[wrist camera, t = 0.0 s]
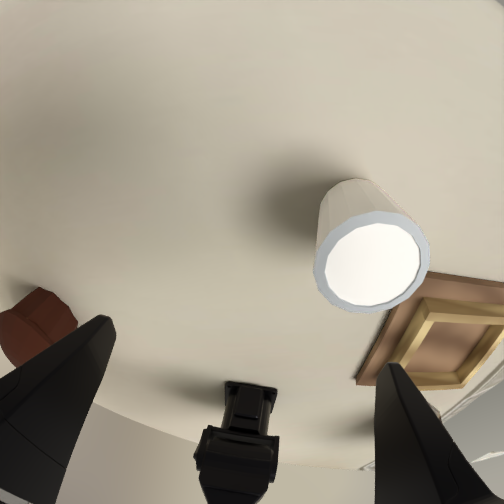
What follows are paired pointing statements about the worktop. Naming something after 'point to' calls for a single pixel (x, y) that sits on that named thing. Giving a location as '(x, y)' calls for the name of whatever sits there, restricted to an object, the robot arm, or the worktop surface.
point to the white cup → (367, 249)
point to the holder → (440, 332)
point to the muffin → (34, 325)
